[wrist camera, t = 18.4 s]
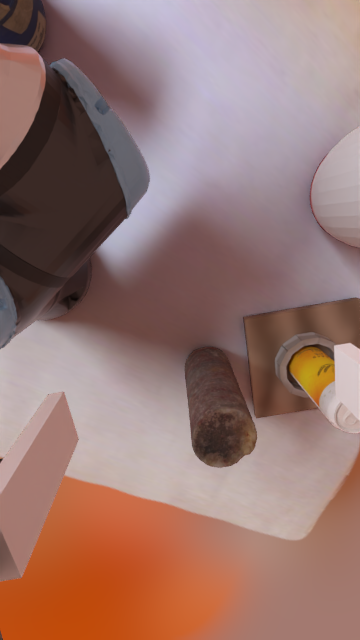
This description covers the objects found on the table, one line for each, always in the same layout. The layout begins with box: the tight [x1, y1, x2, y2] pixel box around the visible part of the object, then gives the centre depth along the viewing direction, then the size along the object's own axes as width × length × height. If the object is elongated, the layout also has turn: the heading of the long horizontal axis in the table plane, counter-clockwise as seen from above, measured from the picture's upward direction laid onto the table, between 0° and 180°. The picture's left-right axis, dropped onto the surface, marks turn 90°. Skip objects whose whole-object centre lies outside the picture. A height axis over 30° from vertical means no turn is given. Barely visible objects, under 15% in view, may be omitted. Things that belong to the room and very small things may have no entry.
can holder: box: [243, 298, 360, 418], centre depth 52 cm, size 18×18×4 cm
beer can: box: [289, 346, 360, 433], centre depth 45 cm, size 6×6×15 cm
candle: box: [185, 347, 257, 468], centre depth 43 cm, size 8×7×20 cm
